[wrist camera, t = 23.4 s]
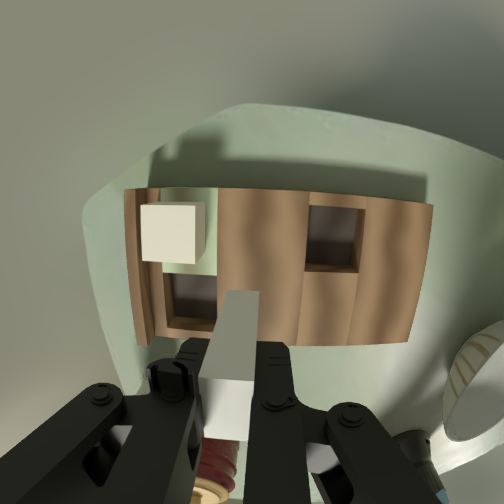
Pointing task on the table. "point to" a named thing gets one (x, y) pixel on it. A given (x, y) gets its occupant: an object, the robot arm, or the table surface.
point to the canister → (215, 471)
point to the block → (173, 231)
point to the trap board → (286, 265)
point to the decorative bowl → (475, 385)
